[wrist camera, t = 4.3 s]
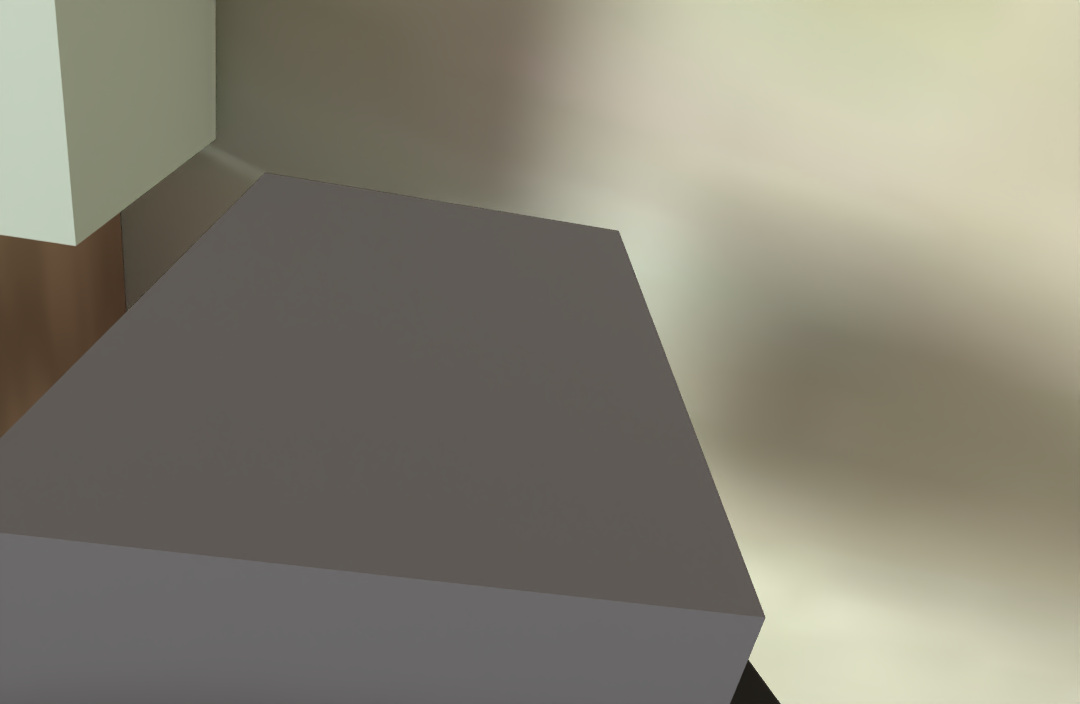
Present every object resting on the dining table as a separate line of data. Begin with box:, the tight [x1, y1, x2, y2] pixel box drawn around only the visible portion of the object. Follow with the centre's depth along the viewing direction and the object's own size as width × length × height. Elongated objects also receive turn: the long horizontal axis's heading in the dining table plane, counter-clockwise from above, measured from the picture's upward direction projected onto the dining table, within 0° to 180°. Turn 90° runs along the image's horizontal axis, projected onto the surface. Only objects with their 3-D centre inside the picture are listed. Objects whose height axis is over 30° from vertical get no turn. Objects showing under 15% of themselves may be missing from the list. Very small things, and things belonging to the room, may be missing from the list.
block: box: [0, 173, 765, 704], centre depth 8 cm, size 6×4×6 cm, turn 170°
